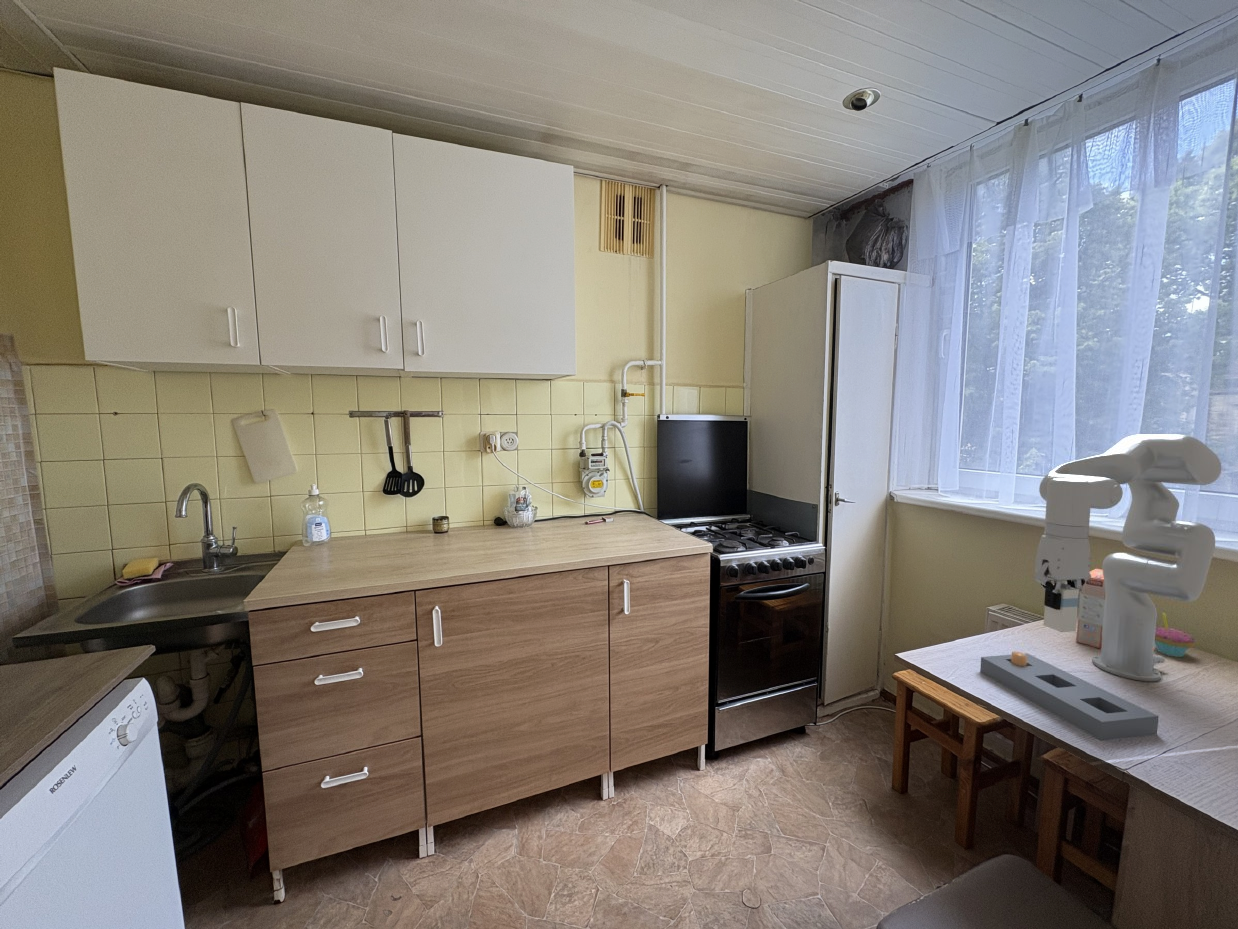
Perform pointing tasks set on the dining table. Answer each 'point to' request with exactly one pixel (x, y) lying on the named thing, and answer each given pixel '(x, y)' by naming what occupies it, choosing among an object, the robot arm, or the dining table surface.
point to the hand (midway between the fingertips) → (1061, 606)
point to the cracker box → (1091, 610)
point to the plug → (1063, 611)
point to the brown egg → (1019, 659)
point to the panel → (1072, 698)
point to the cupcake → (1172, 640)
